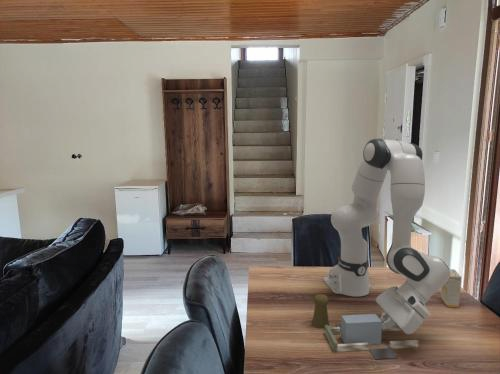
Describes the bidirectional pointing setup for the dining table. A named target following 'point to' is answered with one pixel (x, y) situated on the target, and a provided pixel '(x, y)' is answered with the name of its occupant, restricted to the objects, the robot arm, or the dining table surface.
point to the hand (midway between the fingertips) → (380, 326)
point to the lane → (377, 353)
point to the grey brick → (361, 329)
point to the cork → (320, 311)
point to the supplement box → (452, 290)
